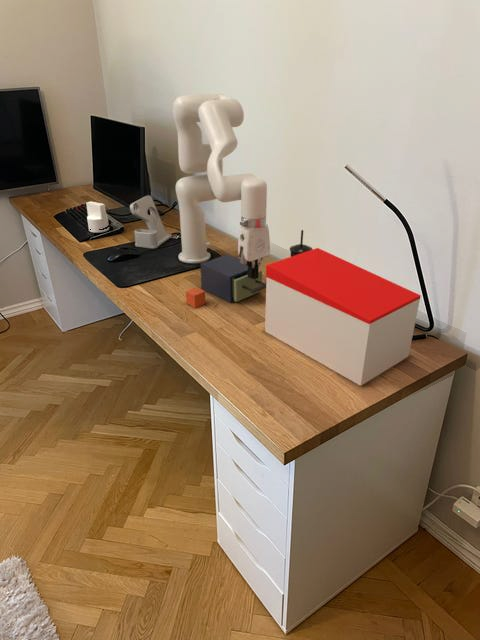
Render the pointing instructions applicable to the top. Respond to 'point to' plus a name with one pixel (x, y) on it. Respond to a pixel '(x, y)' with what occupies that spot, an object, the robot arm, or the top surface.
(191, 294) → the block
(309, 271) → the red-lidded white box
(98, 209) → the base with upright slab
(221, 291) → the cabinet
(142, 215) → the phone holder
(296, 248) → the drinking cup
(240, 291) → the drawer
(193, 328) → the top surface
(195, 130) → the robot arm
